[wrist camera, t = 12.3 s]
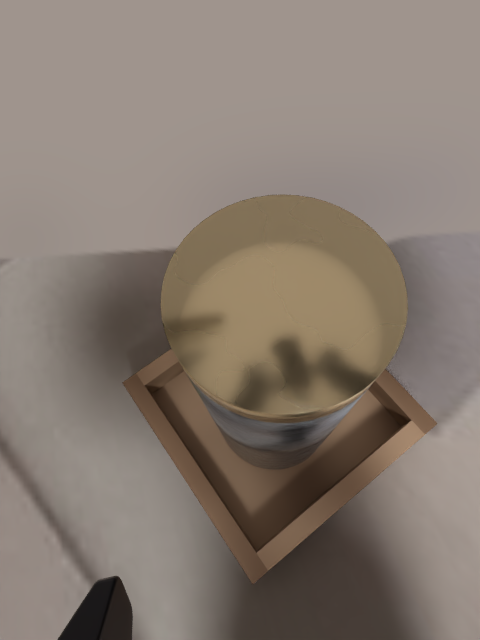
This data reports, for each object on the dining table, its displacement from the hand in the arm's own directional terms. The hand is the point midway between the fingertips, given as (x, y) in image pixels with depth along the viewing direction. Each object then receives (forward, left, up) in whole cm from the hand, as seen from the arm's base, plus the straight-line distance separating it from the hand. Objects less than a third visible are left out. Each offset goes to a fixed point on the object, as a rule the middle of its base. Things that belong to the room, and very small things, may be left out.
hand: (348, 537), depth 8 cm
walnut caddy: (+2, +5, -13) cm, 14 cm away
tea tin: (+2, +5, -12) cm, 13 cm away
